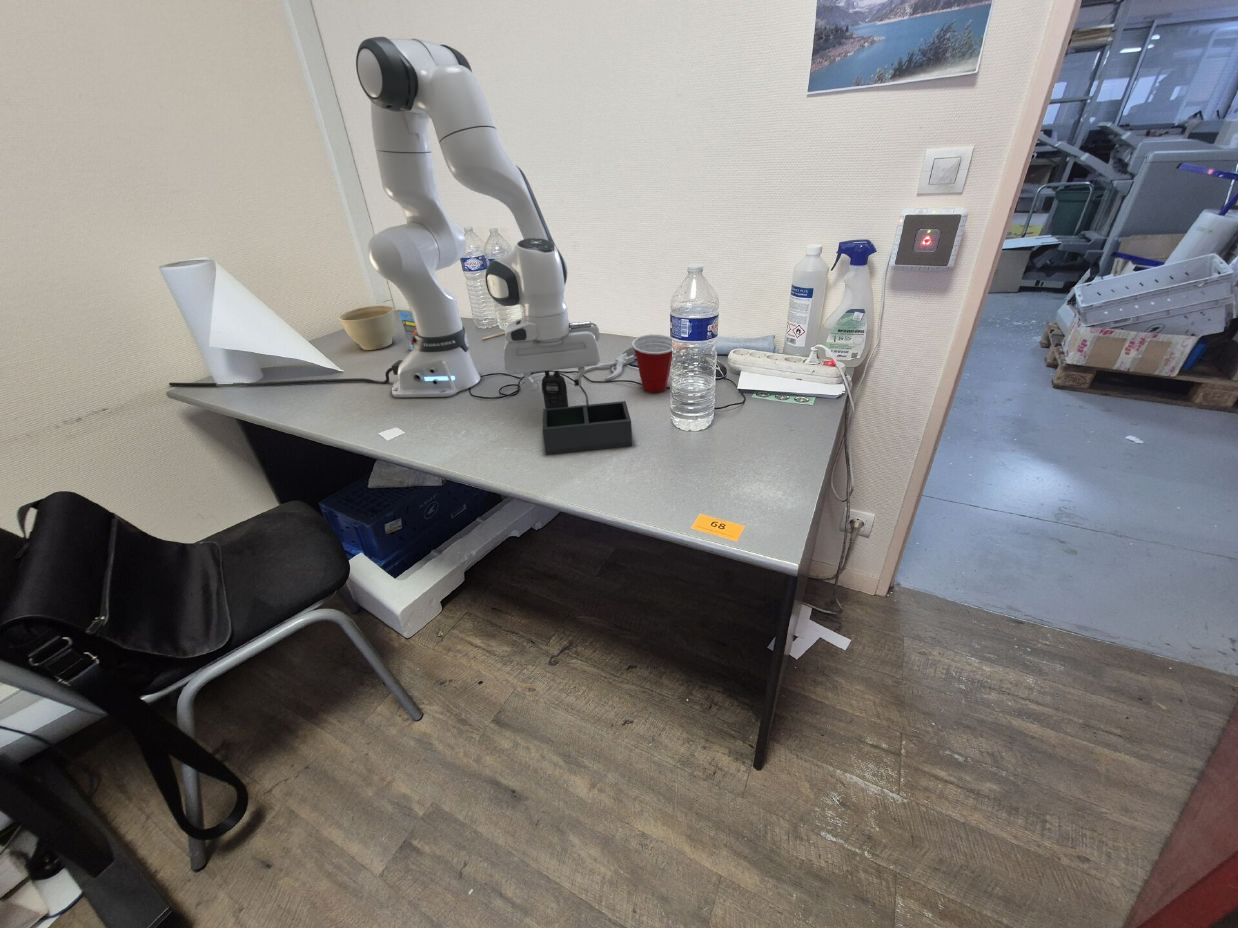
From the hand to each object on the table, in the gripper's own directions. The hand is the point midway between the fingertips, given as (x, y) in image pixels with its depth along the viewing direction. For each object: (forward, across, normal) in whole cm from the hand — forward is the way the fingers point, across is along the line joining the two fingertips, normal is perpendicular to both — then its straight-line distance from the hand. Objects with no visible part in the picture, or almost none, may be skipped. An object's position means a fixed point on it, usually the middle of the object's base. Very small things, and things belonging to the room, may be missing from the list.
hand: (556, 387), depth 110 cm
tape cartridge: (+6, +42, -55) cm, 70 cm away
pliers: (+7, -15, -26) cm, 31 cm away
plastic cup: (+8, -24, -10) cm, 27 cm away
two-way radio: (+7, 0, 0) cm, 7 cm away
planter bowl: (+6, +59, -64) cm, 88 cm away
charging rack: (+7, -6, +12) cm, 15 cm away
